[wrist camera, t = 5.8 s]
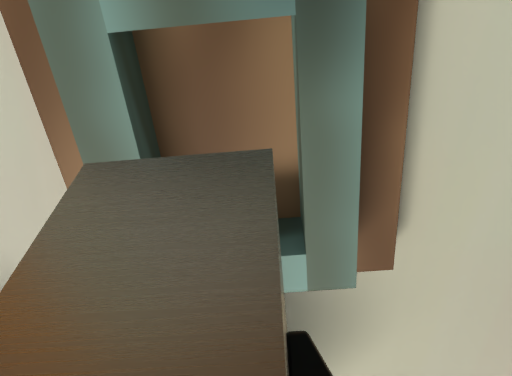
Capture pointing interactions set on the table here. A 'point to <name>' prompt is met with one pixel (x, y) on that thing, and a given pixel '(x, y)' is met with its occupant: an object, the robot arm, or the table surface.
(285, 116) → the well board
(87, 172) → the silver metal block
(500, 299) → the table surface
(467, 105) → the table surface
